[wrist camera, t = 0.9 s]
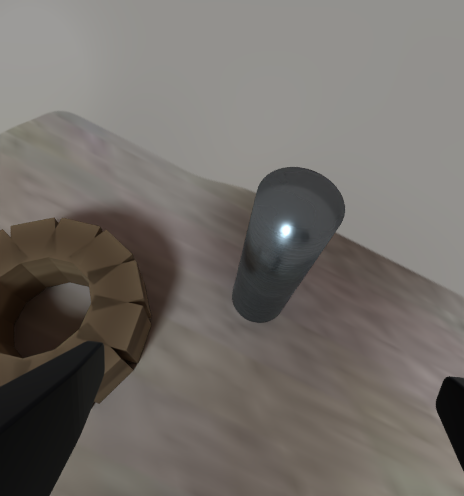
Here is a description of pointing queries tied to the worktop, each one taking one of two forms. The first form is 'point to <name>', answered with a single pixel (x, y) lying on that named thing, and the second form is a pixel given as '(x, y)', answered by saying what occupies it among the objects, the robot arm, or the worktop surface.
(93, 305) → the segmented wooden ring
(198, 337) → the worktop surface
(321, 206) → the tall steel post
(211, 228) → the worktop surface
